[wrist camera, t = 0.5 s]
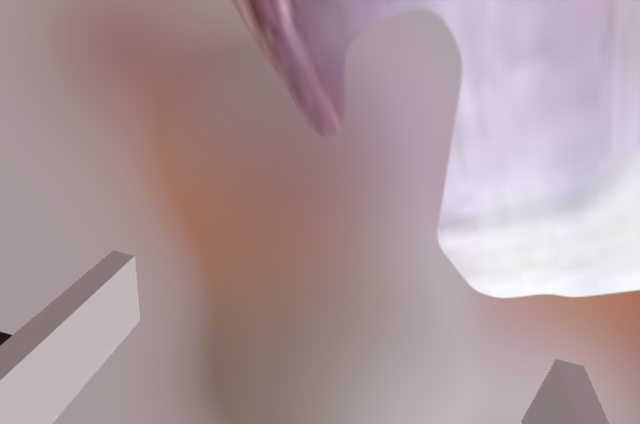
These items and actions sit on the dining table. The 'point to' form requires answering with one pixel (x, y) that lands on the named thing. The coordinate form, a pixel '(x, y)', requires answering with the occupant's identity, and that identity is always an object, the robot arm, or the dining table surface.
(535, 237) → the dining table surface
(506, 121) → the dining table surface
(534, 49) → the dining table surface
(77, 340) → the robot arm
